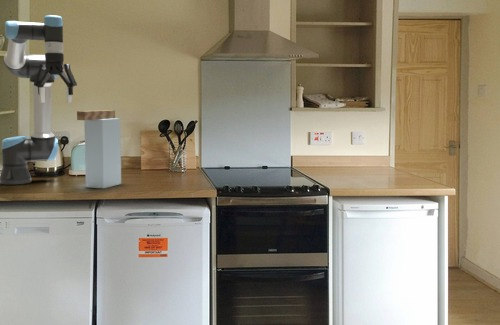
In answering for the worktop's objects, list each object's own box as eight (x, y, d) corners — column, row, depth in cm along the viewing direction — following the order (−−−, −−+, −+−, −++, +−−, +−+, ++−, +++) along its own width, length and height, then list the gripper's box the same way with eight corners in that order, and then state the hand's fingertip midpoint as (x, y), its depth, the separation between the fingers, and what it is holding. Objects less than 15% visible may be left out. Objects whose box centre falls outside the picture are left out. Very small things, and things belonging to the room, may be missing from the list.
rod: (84, 120, 267) (84, 111, 267) (77, 120, 268) (76, 111, 268) (115, 118, 292) (114, 110, 291) (108, 118, 293) (107, 110, 292)
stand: (103, 188, 279) (102, 119, 276) (85, 187, 282) (84, 119, 279) (121, 183, 294) (120, 118, 291) (104, 182, 298) (102, 118, 294)
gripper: (24, 52, 248) (25, 102, 251) (73, 51, 241) (75, 103, 243) (35, 53, 256) (37, 102, 258) (84, 52, 248) (85, 102, 250)
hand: (55, 102), depth 250 cm, fingers open, 13 cm apart
